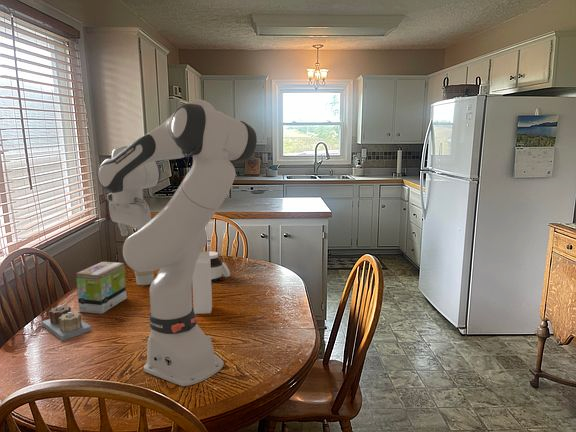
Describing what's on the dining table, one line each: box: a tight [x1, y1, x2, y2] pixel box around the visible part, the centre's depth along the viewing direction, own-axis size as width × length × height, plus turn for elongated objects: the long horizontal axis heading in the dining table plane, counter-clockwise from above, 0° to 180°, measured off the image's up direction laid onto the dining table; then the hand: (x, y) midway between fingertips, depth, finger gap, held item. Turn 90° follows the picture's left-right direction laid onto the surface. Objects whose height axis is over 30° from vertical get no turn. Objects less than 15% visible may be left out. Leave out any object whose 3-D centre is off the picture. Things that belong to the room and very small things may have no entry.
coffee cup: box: [134, 270, 155, 286], centre depth 178 cm, size 9×9×15 cm
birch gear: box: [59, 311, 83, 332], centre depth 134 cm, size 6×6×4 cm
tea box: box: [75, 261, 127, 315], centre depth 154 cm, size 15×10×15 cm, turn 168°
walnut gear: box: [48, 304, 72, 324], centre depth 139 cm, size 6×6×4 cm
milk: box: [192, 250, 213, 315], centre depth 149 cm, size 6×6×22 cm
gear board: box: [41, 304, 92, 341], centre depth 137 cm, size 16×9×6 cm, turn 50°
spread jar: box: [209, 251, 231, 283], centre depth 183 cm, size 12×11×12 cm
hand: (132, 237), depth 139 cm, fingers open, 8 cm apart
